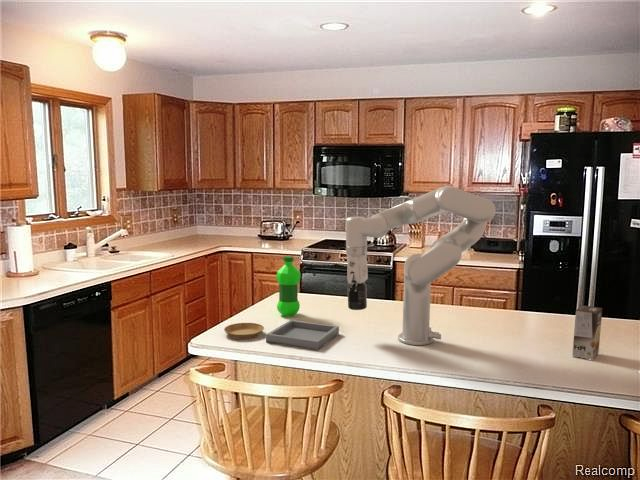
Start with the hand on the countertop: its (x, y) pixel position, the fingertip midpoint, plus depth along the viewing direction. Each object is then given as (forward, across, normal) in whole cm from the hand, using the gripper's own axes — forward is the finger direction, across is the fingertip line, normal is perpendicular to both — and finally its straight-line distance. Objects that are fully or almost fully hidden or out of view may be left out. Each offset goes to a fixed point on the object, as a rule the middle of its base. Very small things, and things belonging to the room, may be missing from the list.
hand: (357, 299), depth 191 cm
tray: (+14, -8, +18) cm, 24 cm away
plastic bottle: (+14, +18, +37) cm, 43 cm away
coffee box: (+17, +15, -76) cm, 79 cm away
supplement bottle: (+4, 0, 0) cm, 4 cm away
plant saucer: (+14, -13, +40) cm, 44 cm away
